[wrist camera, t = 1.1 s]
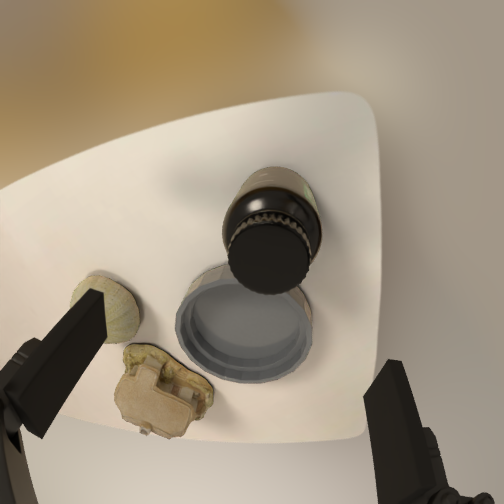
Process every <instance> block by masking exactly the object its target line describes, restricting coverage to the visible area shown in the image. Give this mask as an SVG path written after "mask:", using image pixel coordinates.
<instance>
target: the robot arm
mask: <svg viewBox="0 0 504 504" xmlns="http://www.w3.org/2000/svg"><path fill="white" fill-rule="evenodd" d="M107 337H108V336H107V326H106V315H105V303H104V292H101V291H98V290H95V289H92V288H89V289H88V290H87V291H86V293H85V294H84V295H83V296H82V297H81V298H80V299H79V300H78V301H77V302H76V303H75V304H74V305H73V306H72V308H71V309H70V310H69V311H68V312H67V313H66V314H65V315H64V316H63V317H62V318H61V320H60V321H59V322H58V323H57V324H56V325H55V326H54V327H53V329H52V330H51V331H50V332H49V333H48V334H47V335H46V337H45V338H44V339H43V340H42V341H40V340H38V339H36V338H32V339H31V340H29V341H27V342H25V343H24V344H23V345H22V346H21V347H20V348H19V350H18V351H17V353H15V354H14V355H13V357H12V359H11V360H9V361H8V362H7V364H6V365H5V366H4V367H3V368H2V370H1V371H0V504H38V501H37V498H36V495H35V492H34V488H33V484H32V481H31V477H30V473H29V469H28V464H27V460H26V456H25V451H24V446H23V441H22V435H21V431H20V426H21V425H22V423H23V424H24V426H25V427H26V429H27V430H28V431H29V432H31V433H32V434H34V435H36V436H38V437H40V438H41V439H43V437H44V435H45V433H46V432H47V430H48V428H49V427H50V425H51V423H52V422H53V420H54V418H55V417H56V415H57V414H58V412H59V410H60V409H61V407H62V405H63V404H64V402H65V401H66V399H67V398H68V396H69V394H70V393H71V391H72V390H73V388H74V387H75V385H76V383H77V382H78V380H79V379H80V377H81V376H82V374H83V373H84V371H85V370H86V368H87V367H88V365H89V364H90V362H91V361H92V359H93V358H94V356H95V355H96V353H97V352H98V350H99V349H100V347H101V346H102V344H103V343H104V342H105V340H106V339H107ZM363 398H364V404H365V410H366V416H367V422H368V428H369V434H370V441H371V448H372V455H373V462H374V470H375V479H376V487H377V497H378V504H494V500H493V498H492V496H491V495H490V494H488V493H481V494H478V495H477V496H476V497H474V498H472V497H465V496H460V495H459V493H458V491H457V490H455V489H454V488H452V487H449V485H448V482H447V478H446V475H445V470H444V466H443V462H442V458H441V456H440V451H439V448H438V444H437V440H436V437H435V435H434V434H433V432H432V431H431V429H430V428H429V427H422V424H421V420H420V417H419V414H418V411H417V407H416V404H415V400H414V397H413V394H412V391H411V388H410V385H409V381H408V378H407V376H406V373H405V369H404V367H403V364H402V361H398V360H390V359H388V360H387V362H386V363H385V365H384V366H383V368H382V369H381V371H380V373H379V374H378V375H377V377H376V379H375V380H374V381H373V383H372V384H371V386H370V387H369V389H368V390H367V392H366V393H365V394H364V396H363Z"/></svg>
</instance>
